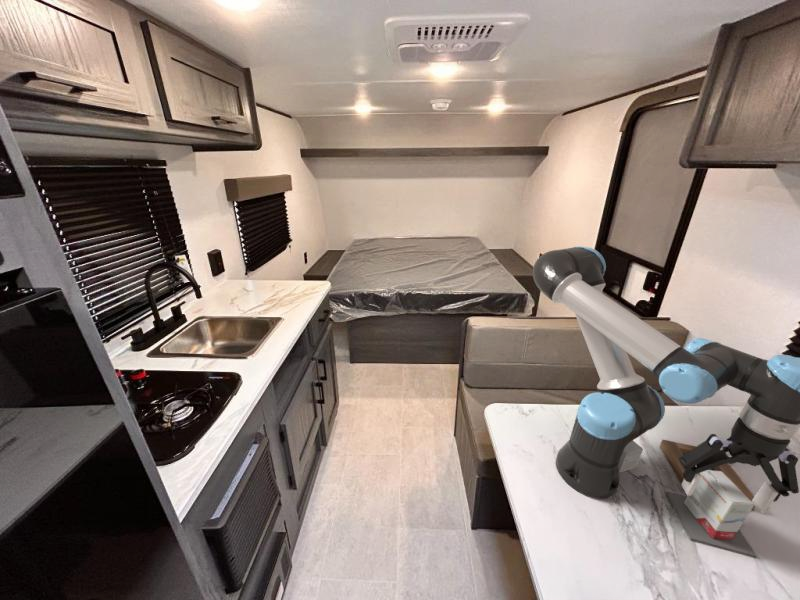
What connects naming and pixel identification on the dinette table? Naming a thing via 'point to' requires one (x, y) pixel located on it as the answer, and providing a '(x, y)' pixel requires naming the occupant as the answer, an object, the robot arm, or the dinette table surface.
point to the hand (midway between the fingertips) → (720, 498)
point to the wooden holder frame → (677, 450)
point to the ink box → (718, 505)
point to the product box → (630, 456)
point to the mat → (700, 534)
